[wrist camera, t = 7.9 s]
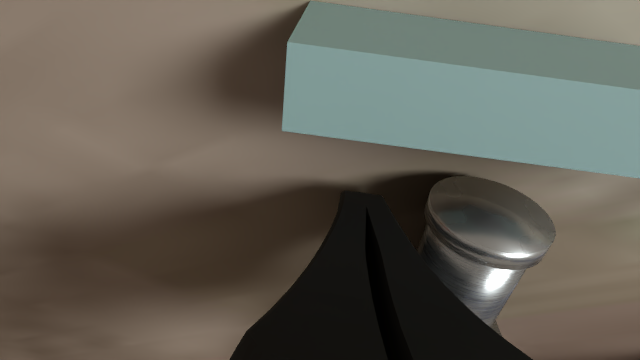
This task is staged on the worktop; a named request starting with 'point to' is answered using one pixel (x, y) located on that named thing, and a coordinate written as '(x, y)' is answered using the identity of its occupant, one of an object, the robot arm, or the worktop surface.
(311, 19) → the pale teal rectangular bar
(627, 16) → the worktop surface
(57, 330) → the worktop surface
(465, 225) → the elbow
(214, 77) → the worktop surface
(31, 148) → the worktop surface
